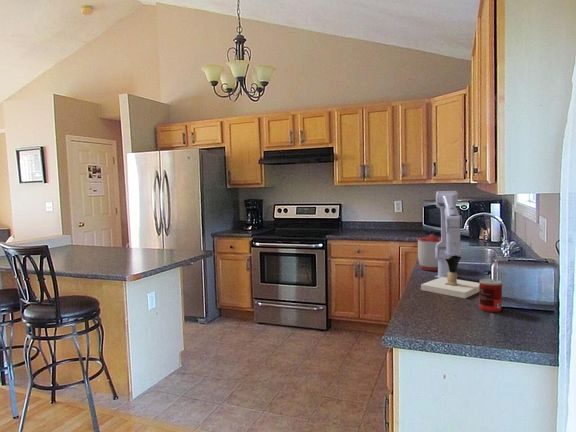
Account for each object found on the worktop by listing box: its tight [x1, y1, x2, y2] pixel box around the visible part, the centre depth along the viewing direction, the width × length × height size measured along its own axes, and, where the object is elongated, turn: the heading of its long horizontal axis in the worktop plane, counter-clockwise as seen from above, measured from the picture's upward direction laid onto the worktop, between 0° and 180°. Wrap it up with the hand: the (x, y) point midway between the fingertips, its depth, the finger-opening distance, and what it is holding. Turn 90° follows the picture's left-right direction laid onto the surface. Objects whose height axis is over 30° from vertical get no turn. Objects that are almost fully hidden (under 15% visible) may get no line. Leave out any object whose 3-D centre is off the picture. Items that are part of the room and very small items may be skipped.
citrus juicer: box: [417, 233, 446, 272], centre depth 226 cm, size 16×17×20 cm
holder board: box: [420, 277, 480, 299], centre depth 182 cm, size 20×20×2 cm
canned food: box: [478, 278, 503, 313], centre depth 153 cm, size 8×8×11 cm
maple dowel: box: [447, 271, 458, 286], centre depth 182 cm, size 4×4×8 cm
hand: (452, 272), depth 182 cm, fingers closed, pressing on maple dowel
